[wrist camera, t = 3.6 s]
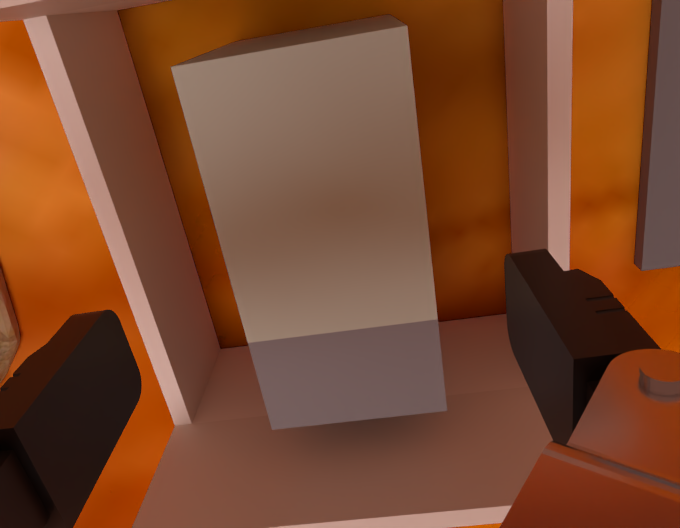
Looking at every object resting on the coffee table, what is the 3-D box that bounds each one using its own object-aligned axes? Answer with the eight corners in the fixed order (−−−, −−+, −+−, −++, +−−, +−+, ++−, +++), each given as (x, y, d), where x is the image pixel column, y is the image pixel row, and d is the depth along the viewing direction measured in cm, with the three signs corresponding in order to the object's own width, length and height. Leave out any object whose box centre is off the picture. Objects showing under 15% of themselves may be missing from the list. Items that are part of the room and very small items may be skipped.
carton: (520, -89, 16) (681, -170, 8) (529, 323, 22) (627, 511, 14) (92, -7, 18) (-135, -7, 9) (210, 362, 24) (133, 555, 16)
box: (389, 13, 18) (407, 25, 11) (421, 290, 22) (447, 411, 16) (235, 41, 18) (170, 67, 12) (296, 306, 22) (271, 429, 16)
